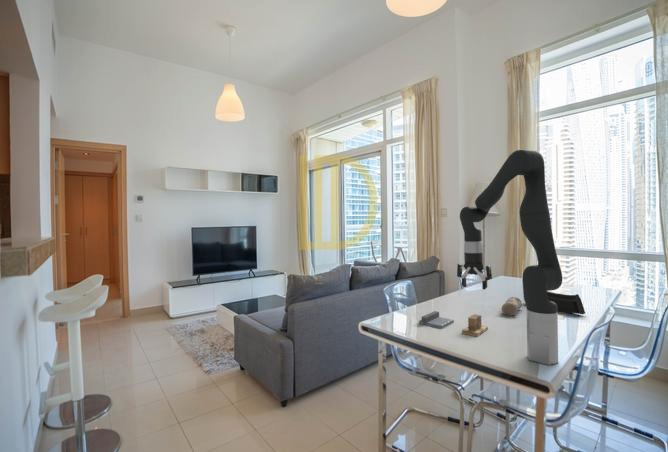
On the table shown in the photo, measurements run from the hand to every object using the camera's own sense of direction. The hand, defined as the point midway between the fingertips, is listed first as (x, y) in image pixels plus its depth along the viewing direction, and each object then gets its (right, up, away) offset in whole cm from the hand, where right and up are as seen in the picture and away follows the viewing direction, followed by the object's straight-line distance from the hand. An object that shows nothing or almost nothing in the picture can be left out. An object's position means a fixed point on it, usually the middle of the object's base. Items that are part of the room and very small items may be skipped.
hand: (474, 288), depth 142 cm
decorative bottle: (+35, -19, +31) cm, 51 cm away
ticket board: (-13, -20, +13) cm, 27 cm away
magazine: (+56, -18, +32) cm, 67 cm away
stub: (0, -19, 0) cm, 19 cm away
